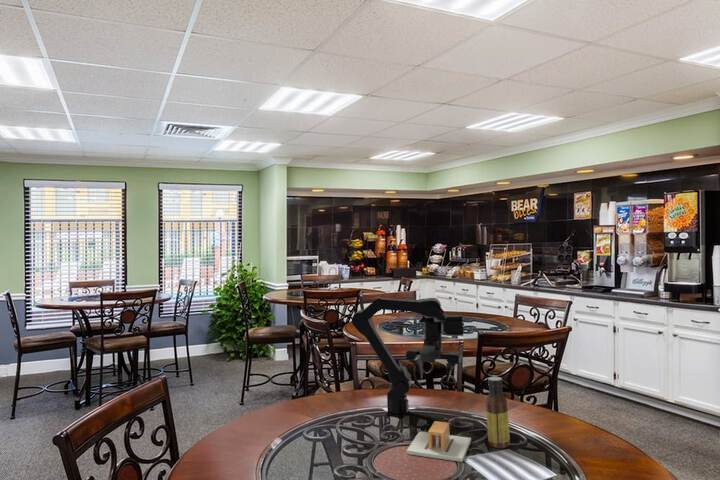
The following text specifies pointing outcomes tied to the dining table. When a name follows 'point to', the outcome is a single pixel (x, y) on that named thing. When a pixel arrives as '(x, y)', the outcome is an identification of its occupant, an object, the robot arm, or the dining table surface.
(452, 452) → the board
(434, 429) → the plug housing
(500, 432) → the sauce bottle
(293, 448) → the dining table surface
